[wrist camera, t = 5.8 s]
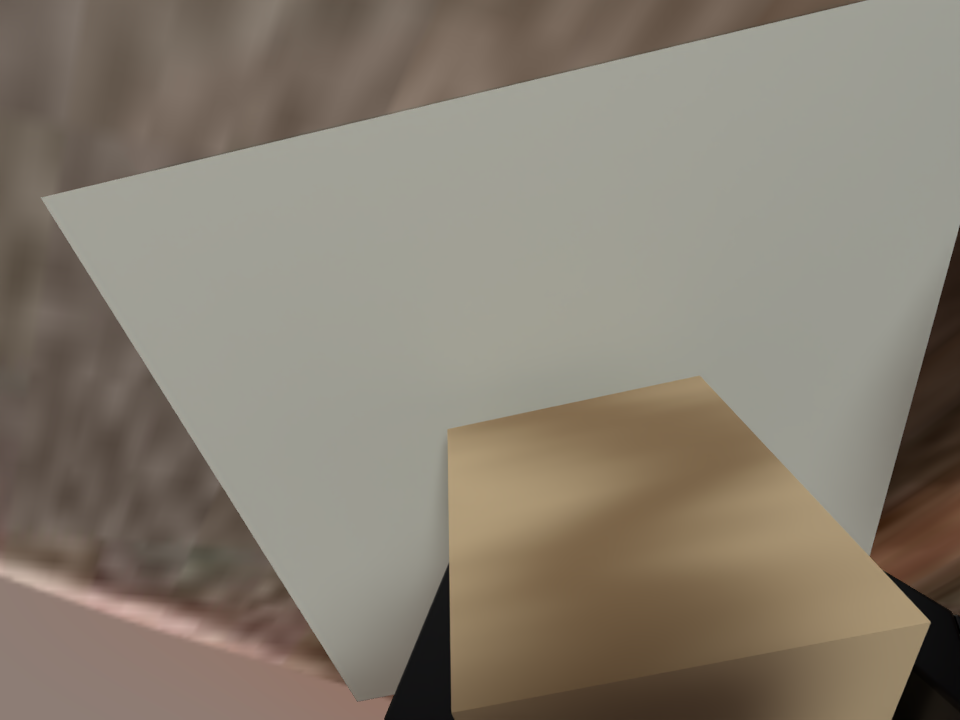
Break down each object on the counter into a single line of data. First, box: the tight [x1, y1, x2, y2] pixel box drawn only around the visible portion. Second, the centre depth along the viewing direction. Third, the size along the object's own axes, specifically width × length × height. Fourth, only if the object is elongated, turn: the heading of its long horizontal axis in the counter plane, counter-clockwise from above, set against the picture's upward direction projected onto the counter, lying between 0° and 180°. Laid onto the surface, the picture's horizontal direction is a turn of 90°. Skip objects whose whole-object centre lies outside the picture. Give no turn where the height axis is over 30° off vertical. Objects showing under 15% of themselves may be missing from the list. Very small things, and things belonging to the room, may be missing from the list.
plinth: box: [41, 0, 960, 701], centre depth 13 cm, size 16×16×3 cm
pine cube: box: [447, 376, 931, 720], centre depth 8 cm, size 5×5×5 cm
